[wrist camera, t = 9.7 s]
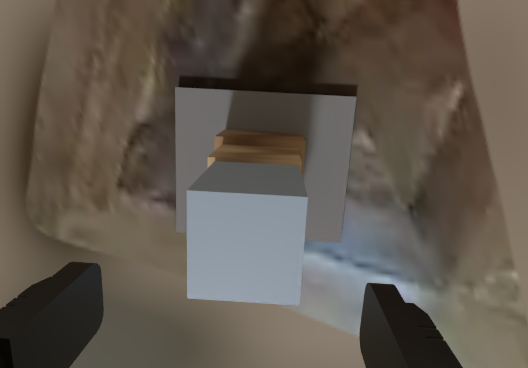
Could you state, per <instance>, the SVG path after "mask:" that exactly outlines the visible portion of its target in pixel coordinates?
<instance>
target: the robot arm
mask: <svg viewBox="0 0 528 368" xmlns="http://www.w3.org/2000/svg"><path fill="white" fill-rule="evenodd" d="M103 308H104V307H103V292H102V277H101V268H100V266H99V265H98V264H97V263H84V262H70V263H68V264H67V265H66V266H65V267H63V268H62V269H61V270H60V271H58V272H57V273H56V274H54V275H53V276H52V277H49V278H46V279H44V280H42V281H40V282H38V283H36V284H33V285H31V286H30V287H29V288H27V289H26V290H25V291H23V292H22V293H21V294H20V295H18V298H14V299H13V300H12V301H10V302H9V303H8V304H6V307H2V308H1V309H0V368H69V367H70V366H71V365H72V363H73V362H74V361H75V360H76V358H77V357H78V356H79V354H80V353H81V352H82V351H83V349H84V348H85V347H86V345H87V344H88V343H89V341H90V340H91V339H92V338H93V336H94V335H95V334H96V333H97V331H98V329H99V327H100V325H101V322H102V318H103V310H104V309H103ZM360 348H361V353H362V356H363V360H364V363H365V366H366V368H463V367H462V366H461V364H460V363H459V361H458V360H457V358H456V357H455V355H454V354H453V352H452V351H451V349H450V347H449V346H448V344H447V343H446V341H443V337H442V335H441V334H440V332H439V331H438V330H436V326H435V325H434V323H433V322H432V320H431V319H430V317H429V315H428V314H427V313H425V312H424V311H423V310H421V309H420V308H419V307H418V306H416V305H415V304H414V303H405V302H404V300H403V298H402V297H401V295H400V293H399V291H398V290H397V288H396V286H395V285H393V284H379V283H367V285H366V288H365V294H364V302H363V309H362V317H361V325H360Z"/></svg>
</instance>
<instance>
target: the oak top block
mask: <svg viewBox="0 0 528 368" xmlns="http://www.w3.org/2000/svg"><path fill="white" fill-rule="evenodd" d="M214 161H223V162H241V163H260V164H279V165H298V166H300V170H301V168H302V161H301V158H300V155H299V152H298V149H297V148H281V147H263V146H246V145H228V144H222V145H221V146H219V147H218V148H217V149H216V150H215V151H214V152H213V153H212V154H210V155H209V156H208V165H207V169H208V167H209V166H210V165H211V164H212V163H213V162H214Z"/></svg>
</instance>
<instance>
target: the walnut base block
mask: <svg viewBox="0 0 528 368" xmlns="http://www.w3.org/2000/svg"><path fill="white" fill-rule="evenodd" d="M305 143H306V141H305V139H304V137H303V136H302V134H301V133H290V132H272V131H254V130H236V129H225V130H223V131H222V132H220V133H219V134H217V135H216V136H215V146H214V151H215V150H216V149H217V148H218V147H219V146H221V145H222V144H228V145H246V146H263V147H281V148H297V149H298V152H299V155H300V158H301V161H302V168H301V173H302V177H303V168H304V155H305Z"/></svg>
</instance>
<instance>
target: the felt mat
mask: <svg viewBox="0 0 528 368" xmlns="http://www.w3.org/2000/svg"><path fill="white" fill-rule="evenodd" d="M355 106H356V97H351V96H332V95H313V94H294V93H275V92H256V91H238V90H219V89H200V88H181V87H175V117H176V232H185V233H187V190H188V189H189V187H190V186H191V185H192V184H193V183H194V182H195V181H196V180H197V179H198V178H199V177H200V176H201V175H202V174H203V173H204V172H205V171H206V170H207V165H208V156H209V155H210V154H212V153H213V152H214V146H215V136H216V135H217V134H219V133H220V132H222V131H223V130H225V129H236V130H254V131H272V132H290V133H301V134H302V136H303V137H304V139H305V141H306V143H305V155H304V168H303V181H304V184H305V188H306V192H307V195H308V203H307V215H306V228H305V240H311V241H326V242H341V233H342V224H343V214H344V205H345V196H346V187H347V178H348V169H349V160H350V151H351V142H352V133H353V124H354V115H355Z"/></svg>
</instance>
